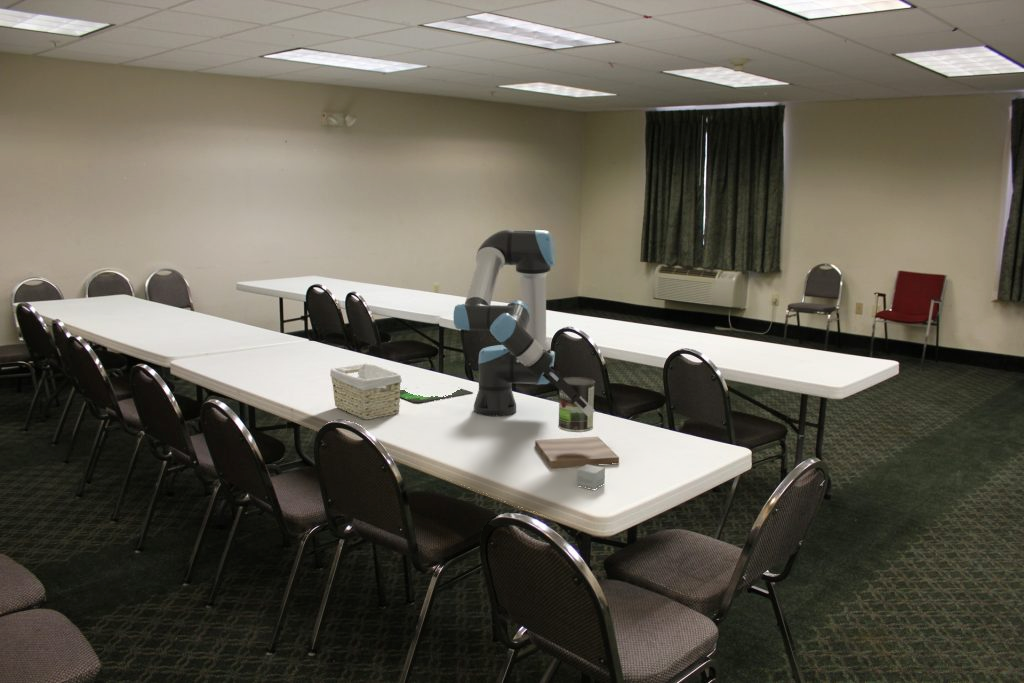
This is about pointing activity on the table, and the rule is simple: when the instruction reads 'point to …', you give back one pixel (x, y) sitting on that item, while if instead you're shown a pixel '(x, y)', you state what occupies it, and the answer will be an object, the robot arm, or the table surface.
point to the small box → (590, 476)
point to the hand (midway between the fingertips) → (586, 408)
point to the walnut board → (575, 452)
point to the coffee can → (571, 413)
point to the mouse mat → (426, 399)
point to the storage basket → (366, 390)
